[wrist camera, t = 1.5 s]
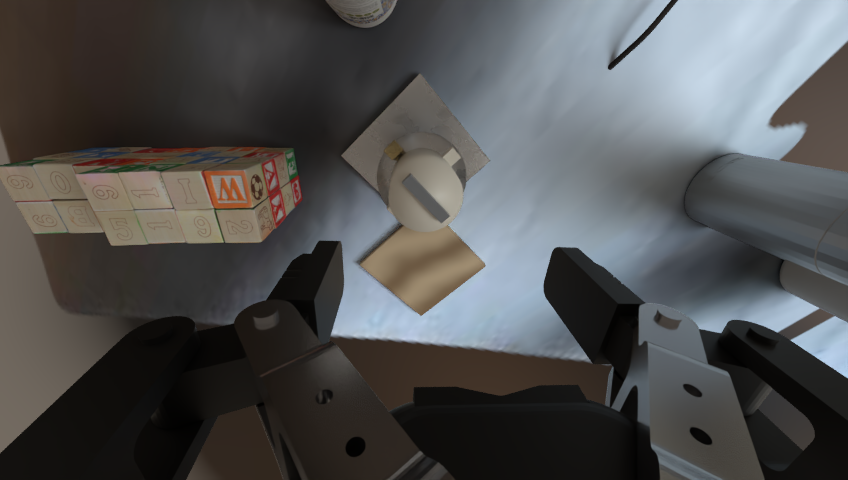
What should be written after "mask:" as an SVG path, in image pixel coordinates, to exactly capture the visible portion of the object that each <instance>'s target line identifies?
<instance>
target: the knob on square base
mask: <svg viewBox="0 0 848 480" xmlns="http://www.w3.org/2000/svg"><path fill="white" fill-rule="evenodd" d="M451 146H452V147H453V148H454V149H455V151H456V152H457V153H458V154H459V155H460V157H461V158H460V159H459V160H458V161H457V162H456V163H455V164H453V165H452V166H451V167H452V169H453V170H454V172H455V173H456V174H457V176H458V178H459V179H460V182H461V184H462V188H463V192H464V189H465V186H466V182H467V181H468V180H469V179H470V178H471V177H472V176H474V175H475V174H476V173H477V172H478V171H479V170H480V169H482V168H483V167H484V166H485V165H486V164H487V163H488V162H489V161H490V160H489V159H488V157H487V156H486V155H485V154H484V152H483V151H482V150H481V149H480V147H479V146H478V145H477V144H476V142H475V141H474V140H473V139H472V137H471V136H470V135H469V134H468V132H467V131H466V130H465V129H464V127H463V126H462V125H461V124H460V122H459V121H458V120H457V119H456V117H455V116H454V115H453V114H452V112H451V111H450V110H449V109H448V107H447V106H446V105H445V104H444V102H443V101H442V100H441V99H440V98H439V96H438V95H437V94H436V93H435V91H434V90H433V89H432V88H431V86H430V85H429V84H428V83H427V81H426V80H425V79H424V78H423V76H422V75H421V74H419V75H418V76H417V77H416V78H415V79H414V80H413V81H412V82H411V83H410V84H409V85H408V86H407V87H406V89H405V90H404V91H403V92H402V93H401V94H400V95H399V96H398V97H397V98H396V99H395V100H394V101H393V102H392V103H391V104H390V105H389V106H388V107H387V108H386V109H385V110H384V111H383V112H382V114H381V115H380V116H379V117H378V118H377V119H376V120H375V121H374V122H373V123H372V124H371V125H370V126H369V127H368V128H367V129H366V130H365V131H364V132H363V133H362V134H361V135H360V136H359V137H358V138H357V140H356V141H355V142H354V143H353V144H352V145H351V146H350V147H349V148H348V149H347V150H346V151H345V152H344V153H343V154H342V155H341V156H342V157H343V158H344V159H345V160H346V161H347V162H348V163H349V164H350V165H351V166H352V167H353V168H354V169H355V170H356V171H357V172H359V173H360V174H361V175H362V176H363V177H364V178H365V179H366V180H367V181H368V182H369V183H370V184H371V185H372V186H373V187H374V188H375V189H376V190H377V191H378V192H379V193H380V195H381V197H382V199H383V201H384V202H385V204H386V205H387V206H388V205H389V187H390V181H391V174H392V170H393V167H394V165H395V163H396V162H397V160H398V159H399V158H400V157H401V156H402V155H403V154H405V153H406V152H408V151H410V150H413V149H418V148H427V149H432V150H434V151H436V152H438V153H440V154H441V155H443V154H444V153H445V152H446V151H447V150H448V149H449V148H450V147H451Z"/></svg>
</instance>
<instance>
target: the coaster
mask: <svg viewBox="0 0 848 480" xmlns="http://www.w3.org/2000/svg"><path fill="white" fill-rule="evenodd" d="M360 266H362V267H363V268H364V269H365V270H366V271H368V272H369V273H370V274H371V275H372V276H374V277H375V278H376V279H377V280H378V281H380V282H381V283H382V284H383V285H384V286H386V287H387V288H388V289H389V290H391V291H392V292H393V293H394V294H395V295H397V296H398V297H399V298H400V299H401V300H403V301H404V302H405V303H406V304H407V305H409V306H410V307H411V308H412V309H413V310H415V311H416V312H417V313H418V314H419V315H421V316H422V315H423V314H424V313H426V312H427V311H428V310H429V309H431V308H432V307H433V306H435V305H436V304H437V303H439V302H440V301H441V300H442V299H444V298H445V297H446V296H448V295H449V294H450V293H451V292H453V291H454V290H455V289H457V288H458V287H459V286H461V285H462V284H463V283H464V282H466V281H467V280H468V279H470V278H471V277H472V276H473V275H475V274H476V273H477V272H479V271H480V270H481V269H483V268H484V267H485V266H486V265H485V263H484V262H483V261H482V260H481V259H480V258H479V257H478V256H477V255H476V254H475V253H474V252H473V251H472V250H471V249H470V248H469V247H468V246H467V245H466V244H465V243H464V242H463V241H462V239H461V238H460V237H459V236H458V235H457V234H456V233H455V232H454V231H453V230H452V229H451V228H450V227H449V226H448V225H447V226H445V227H443V228H441V229H439V230H436V231H432V232H418V231H414V230H411V229H409V228H407V227H405V226H404V225H402V226H400V227H399V228H398V229H397V230H396V231H395V232H394V233H393V234H391V235H390V236H389V237H388V238H387V239H386V240H385V241H384V242H382V243H381V244H380V245H379V246H378V247H377V248H376V249H375V250H373V251H372V252H371V253H370V254H369V255H368V256H367V257H366V258H364V259H363V260H362V261H361V262H360Z"/></svg>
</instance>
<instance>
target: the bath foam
mask: <svg viewBox="0 0 848 480" xmlns="http://www.w3.org/2000/svg"><path fill="white" fill-rule="evenodd" d="M325 1H326V2H327V3H328V4H329V6H330V7H331V8H332V9H333V10H334V11H335V12H336V13H337V14H338V16H340V17H341V18H342V19H343V20H344V21H346V22H347V23H349V24H351V25H353V26H356V27H361V28H369V27H373V26H376V25H378V24H380V23H382V22H383V21H384V20H386V19H387V18H388V16H389V15H390V14H391V12H392V11H393V9H394V7H395V4H396V2H397V0H325Z"/></svg>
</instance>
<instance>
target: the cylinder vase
mask: <svg viewBox="0 0 848 480" xmlns="http://www.w3.org/2000/svg"><path fill="white" fill-rule="evenodd" d="M780 282H781V284H782V286H783V287H784V289H785V290H786V291H788V292H789V293H791V294H793V295H795V296H797V297H799V298H801V299H803V300H805V301H807V302H809V303H811V304H813V305H815V306H817V307H819V308H821V309H823V310H824V311H827V312H828V313H830V314H832V315H834V316H836V317H838V318H840V319H842V320H844V321H846V322H848V286H847V285H845V284H843V283H840V282H838V281H836V280H833V279H831V278H829V277H826V276H824V275H821V274H819V273H816V272H814V271H812V270H809V269H807V268H805V267H802V266H800V265H798V264H795V263H793V262H791V261H788V260H784V262H783V264H782V266H781V269H780Z"/></svg>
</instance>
